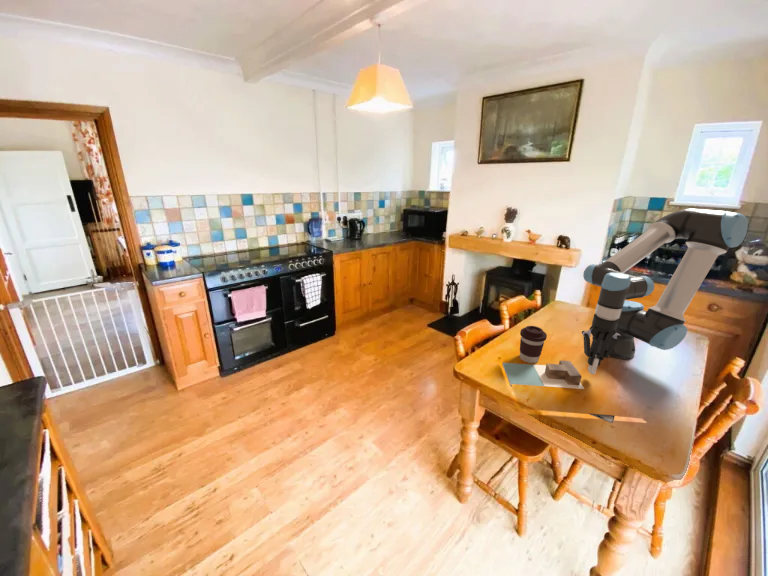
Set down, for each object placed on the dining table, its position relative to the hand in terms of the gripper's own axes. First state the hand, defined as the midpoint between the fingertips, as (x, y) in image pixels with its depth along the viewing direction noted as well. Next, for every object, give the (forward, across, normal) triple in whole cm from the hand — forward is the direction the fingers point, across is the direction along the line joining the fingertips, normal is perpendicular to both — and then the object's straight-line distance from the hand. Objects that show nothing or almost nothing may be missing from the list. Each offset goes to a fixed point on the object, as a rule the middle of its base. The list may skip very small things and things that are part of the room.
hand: (591, 372), depth 123 cm
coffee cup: (+5, +19, -12) cm, 23 cm away
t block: (+3, +11, 0) cm, 11 cm away
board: (+4, +18, 0) cm, 18 cm away
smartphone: (+5, +2, +14) cm, 15 cm away
